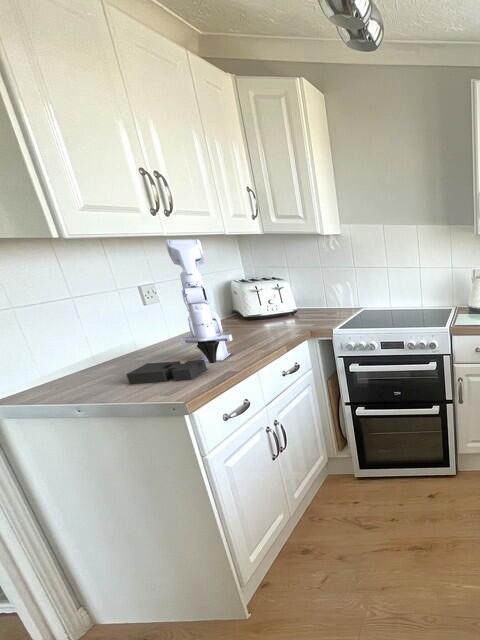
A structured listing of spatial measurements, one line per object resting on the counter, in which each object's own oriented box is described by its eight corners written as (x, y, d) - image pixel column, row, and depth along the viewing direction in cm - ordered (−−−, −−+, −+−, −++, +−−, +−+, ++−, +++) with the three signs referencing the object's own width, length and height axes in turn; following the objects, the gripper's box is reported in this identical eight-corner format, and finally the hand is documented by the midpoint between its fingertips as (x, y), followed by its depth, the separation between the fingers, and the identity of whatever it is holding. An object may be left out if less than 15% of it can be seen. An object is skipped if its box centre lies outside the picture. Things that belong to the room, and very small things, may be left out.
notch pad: (149, 372, 145) (146, 363, 144) (182, 370, 147) (180, 361, 146) (129, 384, 134) (126, 374, 133) (165, 381, 136) (162, 371, 135)
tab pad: (181, 370, 147) (179, 361, 146) (206, 368, 149) (204, 359, 148) (164, 381, 136) (161, 371, 135) (191, 379, 138) (189, 369, 137)
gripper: (171, 327, 133) (183, 367, 138) (222, 324, 137) (232, 364, 141) (182, 323, 140) (193, 361, 144) (230, 320, 143) (239, 358, 148)
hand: (213, 362), depth 143 cm, fingers closed
